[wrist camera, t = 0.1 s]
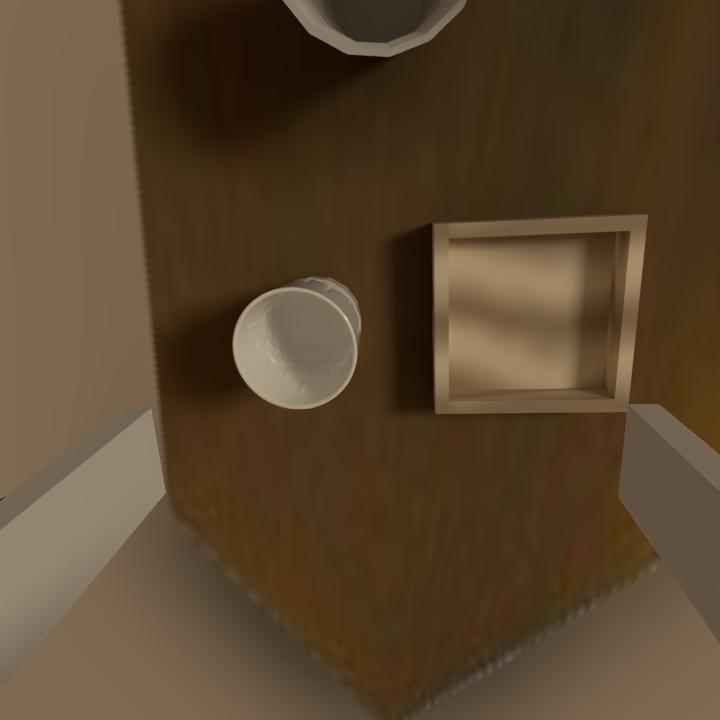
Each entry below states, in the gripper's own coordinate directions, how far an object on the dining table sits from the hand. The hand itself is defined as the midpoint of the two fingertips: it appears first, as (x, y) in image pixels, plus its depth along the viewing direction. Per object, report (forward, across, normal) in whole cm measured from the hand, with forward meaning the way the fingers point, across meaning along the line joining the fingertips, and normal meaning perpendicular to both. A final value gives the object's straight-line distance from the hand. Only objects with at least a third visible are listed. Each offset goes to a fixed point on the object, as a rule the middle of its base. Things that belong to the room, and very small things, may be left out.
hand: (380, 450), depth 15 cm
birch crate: (+28, +10, -2) cm, 30 cm away
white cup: (+28, -6, -2) cm, 29 cm away
